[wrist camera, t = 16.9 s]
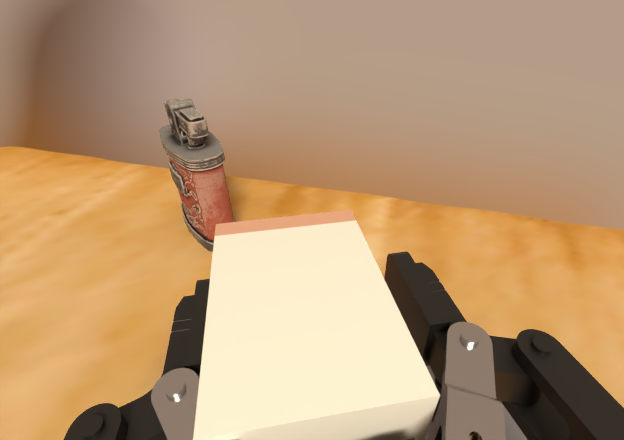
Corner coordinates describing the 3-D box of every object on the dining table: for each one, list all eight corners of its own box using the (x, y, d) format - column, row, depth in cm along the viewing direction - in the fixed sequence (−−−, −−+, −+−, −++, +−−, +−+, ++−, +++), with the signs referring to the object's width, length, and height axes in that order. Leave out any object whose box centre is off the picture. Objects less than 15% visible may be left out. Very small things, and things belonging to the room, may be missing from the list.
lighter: (175, 210, 31) (140, 94, 25) (212, 198, 32) (187, 86, 27) (206, 259, 25) (171, 124, 20) (249, 242, 27) (227, 112, 21)
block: (440, 395, 8) (350, 209, 15) (192, 440, 7) (215, 224, 14) (397, 515, 13) (344, 333, 19) (242, 550, 12) (242, 348, 18)
